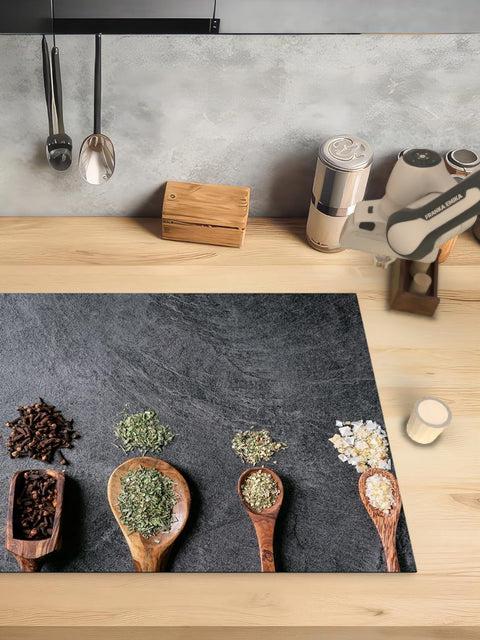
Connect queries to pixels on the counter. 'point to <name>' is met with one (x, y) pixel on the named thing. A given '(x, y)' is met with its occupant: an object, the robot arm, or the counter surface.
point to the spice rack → (415, 286)
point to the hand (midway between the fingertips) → (379, 265)
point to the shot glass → (428, 420)
